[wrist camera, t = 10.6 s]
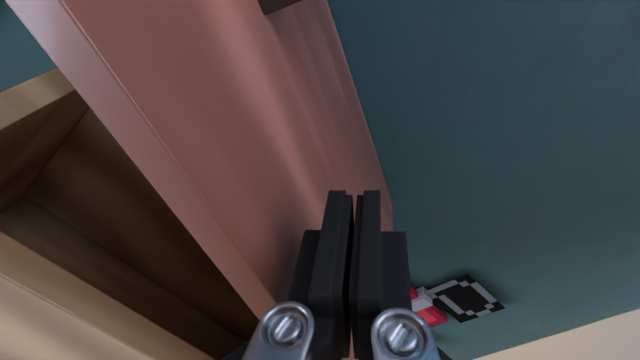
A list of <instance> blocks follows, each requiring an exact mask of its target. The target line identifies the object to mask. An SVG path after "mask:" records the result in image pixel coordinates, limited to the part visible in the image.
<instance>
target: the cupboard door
mask: <svg viewBox="0 0 640 360" xmlns="http://www.w3.org/2000/svg"><path fill="white" fill-rule="evenodd" d="M5 1H6V3H7V4H8V5H9V6H10V8H11V9H12V10H13V11H14V13H15V14H16V15H17V16H18V18H19V19H20V20H21V21H22V23H23V24H24V25H25V26H26V28H27V29H28V30H29V31H30V33H31V34H32V35H33V37H34V38H35V39H36V40H37V42H38V43H39V44H40V45H41V47H42V48H43V49H44V50H45V52H46V53H47V54H48V55H49V57H50V58H51V59H52V60H53V62H54V63H55V64H56V65H57V67H58V68H59V69H60V70H61V72H62V73H63V74H64V75H65V77H66V78H67V79H68V80H69V82H70V83H71V84H72V85H73V87H74V88H75V89H76V90H77V92H78V93H79V94H80V96H81V97H82V98H83V99H84V101H85V102H86V103H87V104H88V106H89V107H90V108H91V109H92V111H93V112H94V113H95V114H96V116H97V117H98V118H99V119H100V121H101V122H102V123H103V124H104V126H105V127H106V128H107V129H108V131H109V132H110V133H111V134H112V136H113V137H114V138H115V139H116V141H117V142H118V143H119V144H120V146H121V147H122V148H123V149H124V151H125V152H126V153H127V155H128V156H129V157H130V158H131V160H132V161H133V162H134V163H135V165H136V166H137V167H138V168H139V170H140V171H141V172H142V173H143V175H144V176H145V177H146V178H147V180H148V181H149V182H150V183H151V185H152V186H153V187H154V188H155V190H156V191H157V192H158V193H159V195H160V196H161V197H162V198H163V200H164V201H165V202H166V203H167V205H168V206H169V207H170V208H171V210H172V211H173V212H174V214H175V215H176V216H177V217H178V219H179V220H180V221H181V222H182V224H183V225H184V226H185V227H186V229H187V230H188V231H189V232H190V234H191V235H192V236H193V237H194V239H195V240H196V241H197V242H198V244H199V245H200V246H201V247H202V249H203V250H204V251H205V252H206V254H207V255H208V256H209V257H210V259H211V260H212V261H213V262H214V264H215V265H216V266H217V267H218V269H219V270H220V271H221V273H222V274H223V275H224V276H225V278H226V279H227V280H228V281H229V283H230V284H231V285H232V286H233V288H234V289H235V290H236V291H237V293H238V294H239V295H240V296H241V298H242V299H243V300H244V301H245V303H246V304H247V305H248V306H249V308H250V309H251V310H252V311H253V313H254V314H255V315H256V316H257V318H258V319H259V320H260V319H261V318H262V316H263V315H264V313H265V312H266V311H267V310H268V309H270V308H271V307H272V306H274V305H276V304H278V303H280V302H285V301H287V297H288V294H289V290H290V286H291V282H292V278H293V274H294V270H295V266H296V262H297V258H298V254H299V250H300V246H301V242H302V238H303V235H304V232H305V230H321V227H322V222H323V217H324V212H325V207H326V202H327V197H328V192H329V190H346V194H347V195H352V196H353V209H354V224H355V212H356V201H357V195H363V192H364V190H381V231H394V228H393V206H392V199H391V196H390V193H389V190H388V187H387V184H386V181H385V177H384V174H383V171H382V168H381V165H380V162H379V159H378V156H377V153H376V150H375V147H374V143H373V140H372V137H371V134H370V131H369V128H368V125H367V122H366V119H365V116H364V113H363V109H362V106H361V103H360V100H359V97H358V94H357V91H356V88H355V85H354V82H353V78H352V75H351V72H350V69H349V66H348V63H347V60H346V57H345V54H344V51H343V48H342V44H341V41H340V38H339V35H338V32H337V29H336V26H335V23H334V20H333V17H332V14H331V10H330V7H329V4H328V1H327V0H5ZM342 360H359V359H354V349H353V339H352V329H351V342H350V355H349V358H342Z"/></svg>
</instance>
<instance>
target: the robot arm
mask: <svg viewBox="0 0 640 360" xmlns="http://www.w3.org/2000/svg"><path fill="white" fill-rule="evenodd" d="M351 329H352V339H353V349H354V359H359V360H452V359H451V358H450V357H448V356H447V355H446V354H445V353H444V352H443V351H442V350H441V349H439V348H438V347H437V346H436V342H435V339H434V336H433V332H432V330H431V328H430V326H429V324H428V323H427V321H426V320H425V319H424V318H423V317H422V316H421V315H419V314H418V313H416V312H415V311H412V300H411V288H410V277H409V265H408V254H407V242H406V233H405V232H398V231H381V190H364V192H363V195H357V201H356V212H355V224H354V209H353V196H352V195H347V194H346V190H329V192H328V197H327V202H326V207H325V212H324V217H323V222H322V227H321V230H305V232H304V235H303V238H302V242H301V246H300V250H299V254H298V258H297V262H296V266H295V270H294V274H293V278H292V282H291V286H290V290H289V294H288V297H287V301H285V302H280V303H278V304H276V305H274V306H272V307H271V308H270V309H268V310H267V311H266V312H265V313H264V315H263V316H262V318H261V319H260V321H259V323H258V326H257V328H256V330H255V332H254V334H253V336H252V338H251V339H250V340H248V341H247V342H245V343H244V344H243V345H241V346H240V347H238V348H237V349H236V350H234V351H233V352H231V353H230V354H228V355H227V356H226V357H224V358H223V359H221V360H342V358H349V355H350V342H351Z"/></svg>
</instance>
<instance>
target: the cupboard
mask: <svg viewBox="0 0 640 360" xmlns="http://www.w3.org/2000/svg"><path fill="white" fill-rule="evenodd" d="M259 321H260V320H259V319H258V318H257V316H256V315H255V314H254V313H253V311H252V310H251V309H250V308H249V306H248V305H247V304H246V303H245V301H244V300H243V299H242V298H241V296H240V295H239V294H238V293H237V291H236V290H235V289H234V288H233V286H232V285H231V284H230V283H229V281H228V280H227V279H226V278H225V276H224V275H223V274H222V273H221V271H220V270H219V269H218V267H217V266H216V265H215V264H214V262H213V261H212V260H211V259H210V257H209V256H208V255H207V254H206V252H205V251H204V250H203V249H202V247H201V246H200V245H199V244H198V242H197V241H196V240H195V239H194V237H193V236H192V235H191V234H190V232H189V231H188V230H187V229H186V227H185V226H184V225H183V224H182V222H181V221H180V220H179V219H178V217H177V216H176V215H175V214H174V212H173V211H172V210H171V208H170V207H169V206H168V205H167V203H166V202H165V201H164V200H163V198H162V197H161V196H160V195H159V193H158V192H157V191H156V190H155V188H154V187H153V186H152V185H151V183H150V182H149V181H148V180H147V178H146V177H145V176H144V175H143V173H142V172H141V171H140V170H139V168H138V167H137V166H136V165H135V163H134V162H133V161H132V160H131V158H130V157H129V156H128V155H127V153H126V152H125V151H124V149H123V148H122V147H121V146H120V144H119V143H118V142H117V141H116V139H115V138H114V137H113V136H112V134H111V133H110V132H109V131H108V129H107V128H106V127H105V126H104V124H103V123H102V122H101V121H100V119H99V118H98V117H97V116H96V114H95V113H94V112H93V111H92V109H91V108H90V107H89V106H88V104H87V103H86V102H85V101H84V99H83V98H82V97H81V96H80V94H79V93H78V92H77V90H76V89H75V88H74V87H73V85H72V84H71V83H70V82H69V80H68V79H67V78H66V77H65V75H64V74H63V73H62V72H61V70H60V69H59V68H55V69H53V70H51V71H48V72H46V73H44V74H41V75H39V76H37V77H35V78H32V79H30V80H28V81H25V82H23V83H21V84H18V85H16V86H14V87H12V88H9V89H7V90H5V91H2V92H0V360H221V359H223V358H224V357H226V356H227V355H228V354H230V353H231V352H233V351H234V350H236V349H237V348H238V347H240V346H241V345H243V344H244V343H245V342H247V341H248V340H250V339H251V338H252V336H253V334H254V332H255V330H256V328H257V326H258V323H259Z"/></svg>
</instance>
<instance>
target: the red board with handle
mask: <svg viewBox="0 0 640 360" xmlns="http://www.w3.org/2000/svg"><path fill="white" fill-rule="evenodd" d="M410 288H411V300H412V311H415V312H416V313H418V314H419V315H421V316H422V317H423V318H424V319H425V320H426V321H427V323H428V324H429V326H430V327H433V326H435V325H438V324H441V323H444V322H447V316H446V315H445V314H444V313H443V312H442V311H440V310H439V309H438V308H437V307H436V306H434V305H433V303H432V300H433V301H435V302H436V303H437V304H438V305H439V306H441V307H442V308H443V309H444V310H446V311H447V312H448V313H449V314H450V315H452V316H453V317H454V318H455V319H456V320H458V321H459V322H460V323H462V322H465V321H468V320H471V319H474V318H477V317H480V316H483V315H486V314H489V313H492V312H495V311H498V310H501V309H504V308H505V307H503V306H502V305H501V304H500V303H499V302H498V301H497V300H496V299H495V298H494V297H493V296H491V295H490V294H489V293H488V292H487V291H486V290H485V289H484V288H483V287H482V286H480V285H479V284H478V283H477V282H476V281H475V280H474V279H473V278H472V277H471V276H469V275H468V274H467V275H464V276H462V277H459V278H457V279H454V280H452V281H450V282H447V283H445V284H442V285H440V286H437V287H435V288H433V289H430V290H427V289H425V288H424V287H420V288H418V289H414V288H412V287H411V286H410Z"/></svg>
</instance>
